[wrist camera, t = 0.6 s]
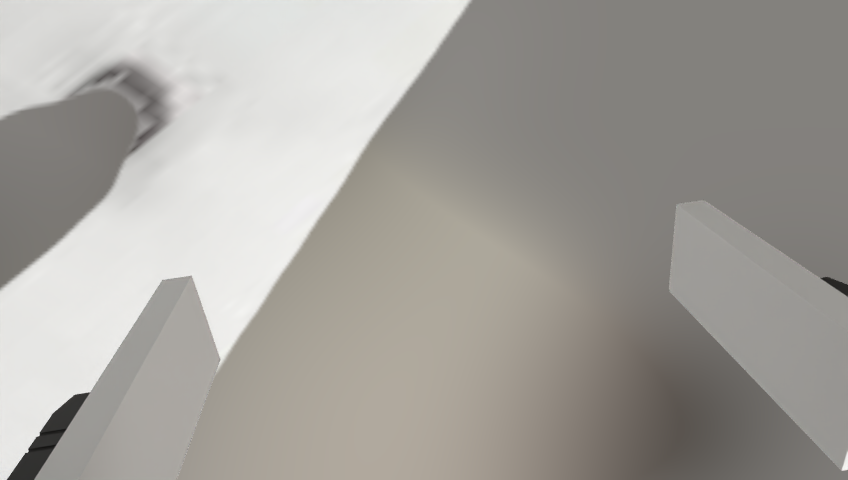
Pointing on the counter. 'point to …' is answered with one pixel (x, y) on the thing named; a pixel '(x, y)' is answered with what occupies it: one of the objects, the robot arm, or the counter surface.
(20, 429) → the counter surface
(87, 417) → the robot arm
